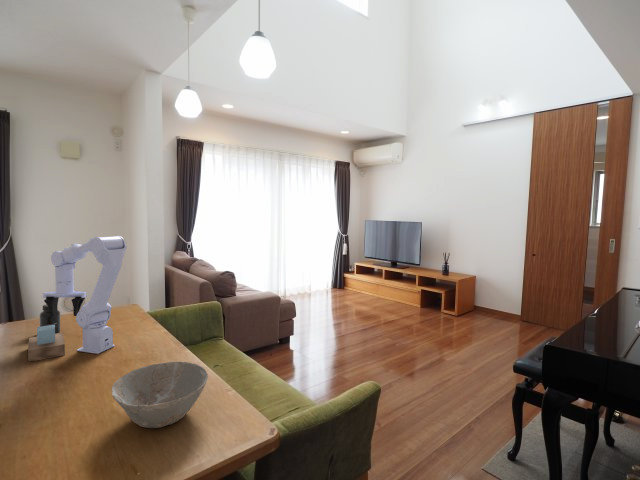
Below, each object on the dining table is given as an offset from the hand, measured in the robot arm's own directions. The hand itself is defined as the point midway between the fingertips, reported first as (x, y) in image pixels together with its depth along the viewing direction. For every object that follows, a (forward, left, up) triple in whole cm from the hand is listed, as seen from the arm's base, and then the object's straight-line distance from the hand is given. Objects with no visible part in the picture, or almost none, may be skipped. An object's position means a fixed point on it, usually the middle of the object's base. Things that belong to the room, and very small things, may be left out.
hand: (65, 315), depth 134 cm
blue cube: (-3, +10, -6) cm, 12 cm away
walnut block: (-2, +10, -10) cm, 14 cm away
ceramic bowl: (-68, +34, -11) cm, 76 cm away
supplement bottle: (+14, -5, -11) cm, 18 cm away
